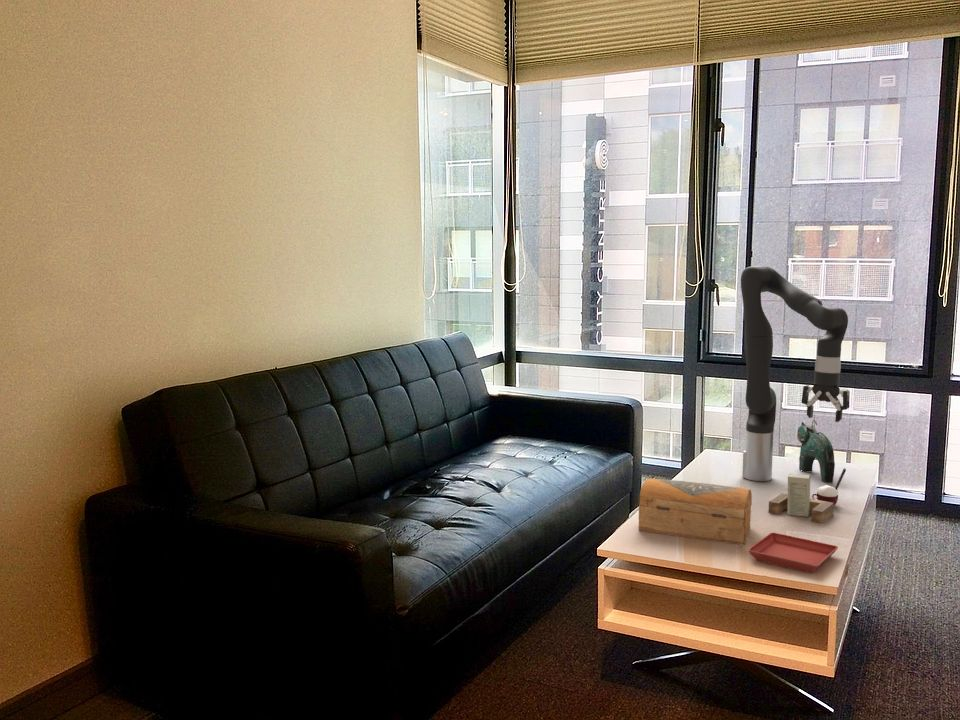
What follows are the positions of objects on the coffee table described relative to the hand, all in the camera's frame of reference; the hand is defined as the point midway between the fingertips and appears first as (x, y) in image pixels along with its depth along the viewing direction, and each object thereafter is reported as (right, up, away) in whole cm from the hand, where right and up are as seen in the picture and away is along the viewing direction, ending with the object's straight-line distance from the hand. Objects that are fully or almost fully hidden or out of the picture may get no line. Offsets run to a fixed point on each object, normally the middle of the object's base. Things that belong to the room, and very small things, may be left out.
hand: (823, 419), depth 264 cm
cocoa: (0, -27, -3) cm, 27 cm away
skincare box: (-13, -29, -12) cm, 33 cm away
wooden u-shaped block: (-11, -28, -11) cm, 32 cm away
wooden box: (-48, -31, -24) cm, 62 cm away
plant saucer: (-28, -34, -47) cm, 65 cm away
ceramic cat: (+10, -23, +30) cm, 39 cm away
